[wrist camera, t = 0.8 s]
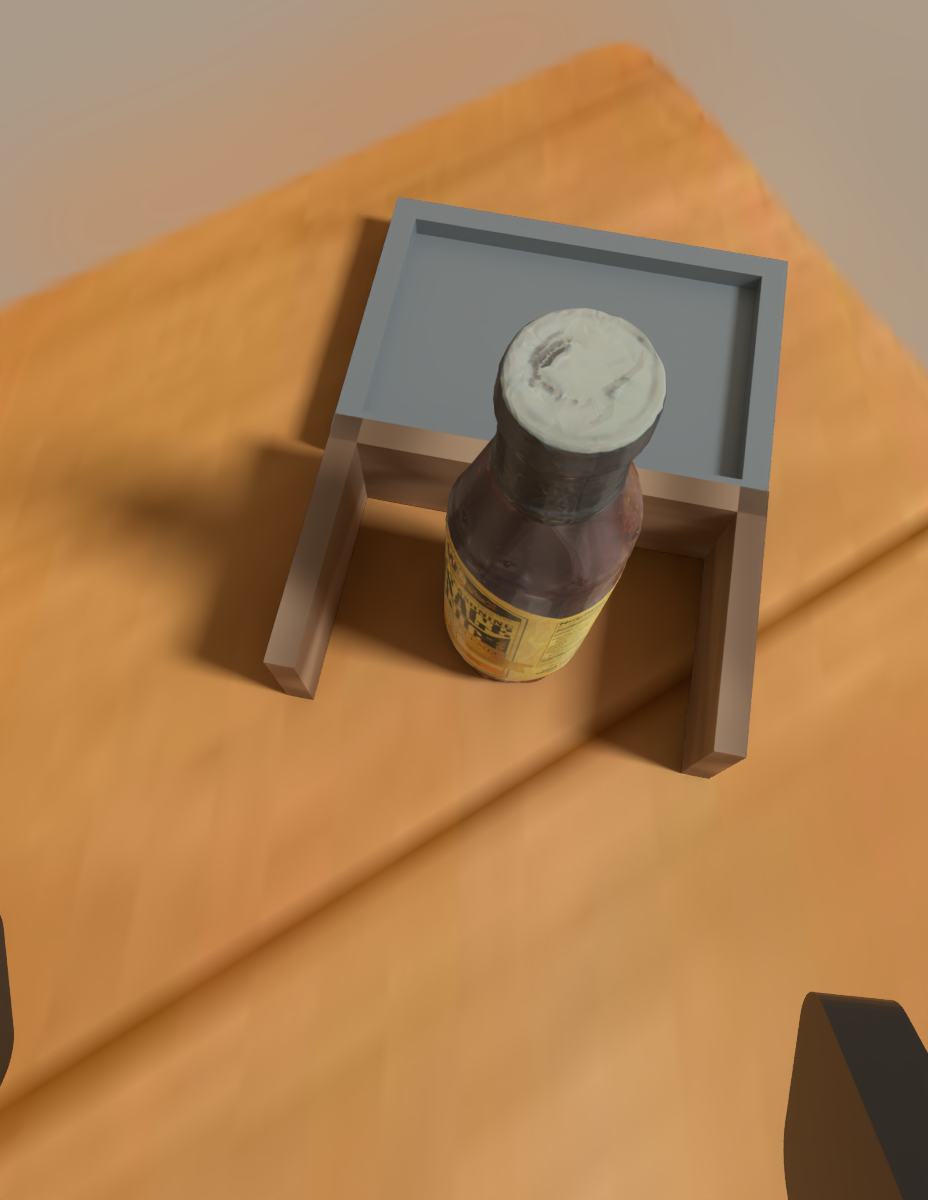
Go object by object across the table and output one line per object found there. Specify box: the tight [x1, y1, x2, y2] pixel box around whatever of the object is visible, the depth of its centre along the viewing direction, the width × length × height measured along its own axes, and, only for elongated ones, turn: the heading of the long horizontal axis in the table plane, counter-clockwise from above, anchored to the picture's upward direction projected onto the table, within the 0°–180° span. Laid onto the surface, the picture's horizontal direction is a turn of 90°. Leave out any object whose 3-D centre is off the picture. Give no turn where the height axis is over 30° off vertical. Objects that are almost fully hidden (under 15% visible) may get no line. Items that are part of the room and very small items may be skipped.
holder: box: [263, 413, 769, 779], centre depth 37 cm, size 18×11×5 cm, turn 79°
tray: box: [331, 197, 788, 491], centre depth 43 cm, size 20×14×2 cm
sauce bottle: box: [444, 308, 667, 683], centre depth 30 cm, size 6×6×20 cm
